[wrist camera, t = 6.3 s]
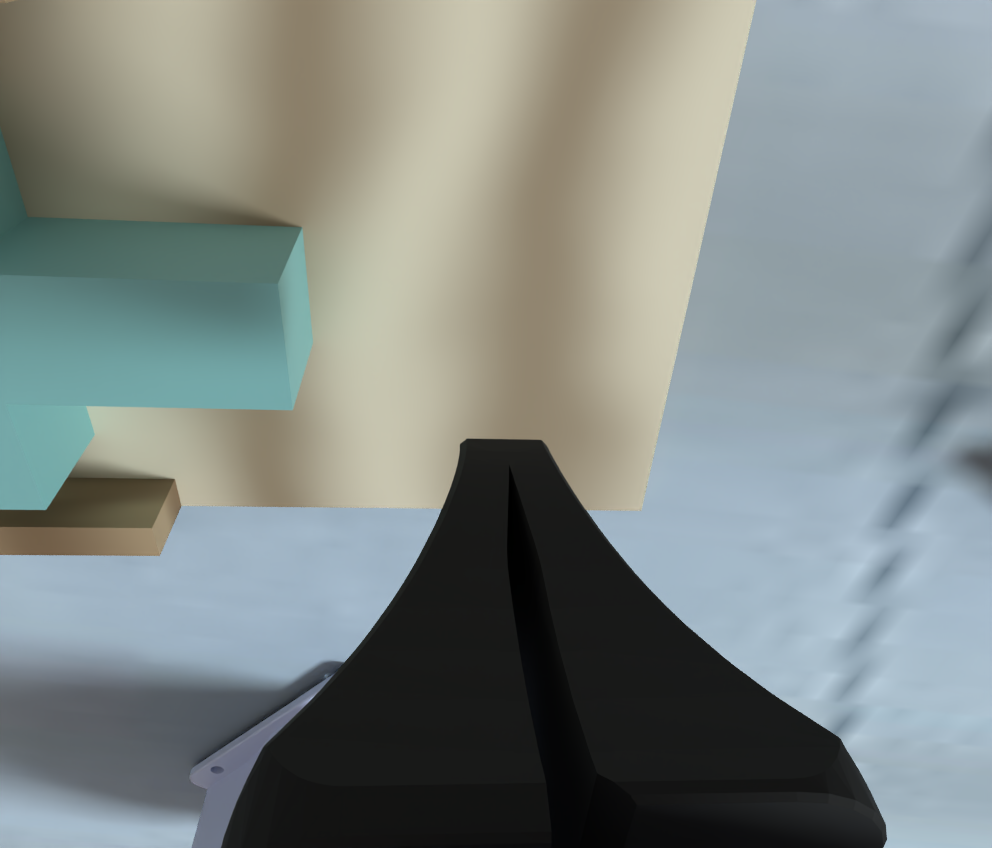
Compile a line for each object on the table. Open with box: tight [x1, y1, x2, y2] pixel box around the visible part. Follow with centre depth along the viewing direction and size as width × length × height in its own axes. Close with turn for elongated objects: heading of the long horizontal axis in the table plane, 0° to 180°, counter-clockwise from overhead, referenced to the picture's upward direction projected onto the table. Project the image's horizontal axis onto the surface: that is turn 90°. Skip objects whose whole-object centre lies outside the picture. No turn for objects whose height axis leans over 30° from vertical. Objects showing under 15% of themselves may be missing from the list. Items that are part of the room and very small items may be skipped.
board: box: [0, 0, 756, 556], centre depth 17 cm, size 20×14×3 cm
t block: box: [0, 128, 313, 510], centre depth 17 cm, size 9×9×3 cm
